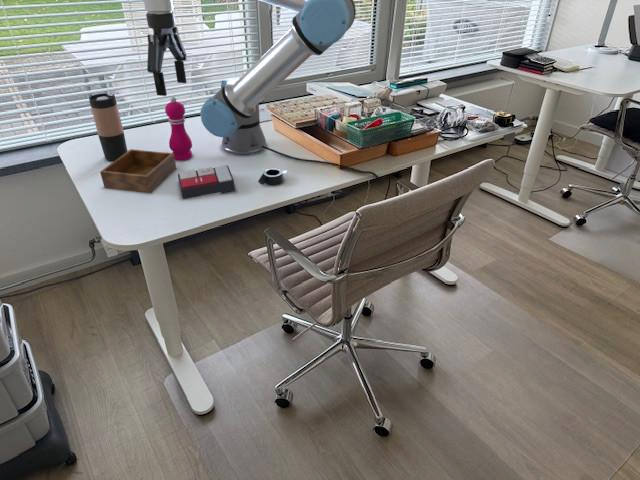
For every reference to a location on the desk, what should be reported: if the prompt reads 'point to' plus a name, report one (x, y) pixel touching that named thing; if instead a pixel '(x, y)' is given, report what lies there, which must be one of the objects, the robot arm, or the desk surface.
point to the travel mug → (108, 125)
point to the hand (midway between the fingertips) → (172, 88)
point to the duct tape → (272, 177)
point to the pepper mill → (178, 131)
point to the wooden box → (138, 171)
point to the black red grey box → (206, 181)
